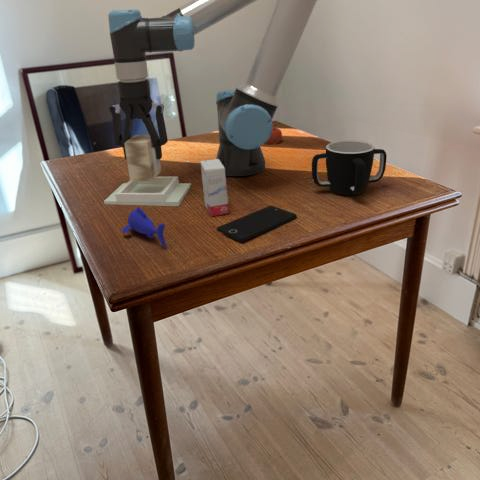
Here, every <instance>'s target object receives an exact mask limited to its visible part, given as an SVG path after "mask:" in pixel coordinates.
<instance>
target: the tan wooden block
mask: <svg viewBox="0 0 480 480" xmlns="http://www.w3.org/2000/svg"><path fill="white" fill-rule="evenodd" d="M124 144H125V151H126V158H127V159H126V162H127V163H126V164H127V171H128V174H129V175H128V176H129V181H153V180H154V179H155V178H156V177H158V176H159V175H160V173H162V167H161V166H162V165H161V164H160V170H159V171H158V172H157V173H155V172H154V164H153V156H152V147H154V145H153V142H152V140H151V138H150V135H149V134H134V135H133V136H131V138H130V139H129V140H128V141H126V142H125V143H124ZM159 162H160V163H161V159H159Z"/></svg>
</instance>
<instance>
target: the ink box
mask: <svg viewBox="0 0 480 480" xmlns="http://www.w3.org/2000/svg"><path fill="white" fill-rule="evenodd" d="M200 170H201V172H200V173H201V180H202V188H203V189H202V190H203V200H204V206H205V207H206V210H207V211H208V214H209V216H211V217H215V216H221V215H227V214H230V207H229V205H230V204H229V197H228V196H229V195H228V188H227V177H226V176H227V175H225V168H224V166H223V165H222V163H221V162H220V160H219V159H216V158H215V159H206V160H201V161H200Z"/></svg>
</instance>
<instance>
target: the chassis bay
mask: <svg viewBox="0 0 480 480" xmlns="http://www.w3.org/2000/svg"><path fill="white" fill-rule="evenodd" d="M191 187H192V183H191V182H190V183H186V182H184V183H183V182H182V183H181V182H180V180H179V176H156V178H155V179H154V180H153V181H130V180H129V181H127V182H125V183H124V182H123V183H121V185H119V187H118V188H116V189H115V190H114V191H113V192H112V193H111V194H110V195H109V196H108V197H107V198H106V199H104V201H103V204H104V205H119V206H121V205H123V206H124V205H127V206H130V205H131V206H155V207H159V206H161V207H163V206H164V207H168V206H169V207H179V206H180V205H181V203H182V201H183V199H184V198H185V197H186V195H187V194H188V191H189V190H190V188H191Z"/></svg>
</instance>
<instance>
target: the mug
mask: <svg viewBox="0 0 480 480" xmlns="http://www.w3.org/2000/svg"><path fill="white" fill-rule="evenodd" d="M375 155H379V164H378V165H379V167H378V170H377V173H376V174H375V175H374V176H371V174H372V169H373V165H374V157H375ZM320 159H325V168H326V169H325V170H326V177H327V180H324V181H323V180H322V181H321V180H320V178H319V176H318V175H319V173H318V172H319V171H318V166H319V165H318V164H319V160H320ZM386 167H387V152H386V151H385V150H384V149H381V148H375V145H373V144H372V143H369V142H368V141H367V142H366V141H363V140H362V141H361V140H338V141H334V142H330V143H328V144H327V145H326V146H325V152H323V153H319V154H318V153H317V154H315V155H313V157H312V158H311V178H312V180H313V183H314V184H315V185H316V186H317V187H320V188H321V187H322V188H326V187H327V188H328V187H329V189H330V191H331V192H333V193H335V194H337V195H340V196H341V195H342V196H356V195H360V194H362V193H364V192H365V191H366V190H367V187H368V185H369V184H370V183H371V184H372V183H377V182H379V181H381V179H382V178H383V176H384V175H385V172H386Z"/></svg>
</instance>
